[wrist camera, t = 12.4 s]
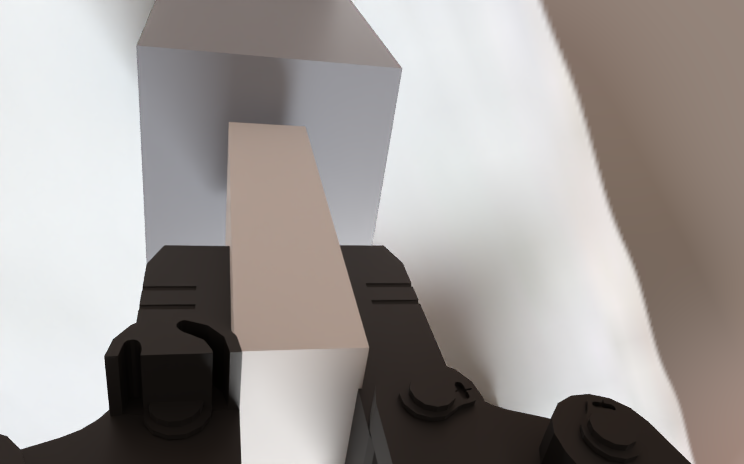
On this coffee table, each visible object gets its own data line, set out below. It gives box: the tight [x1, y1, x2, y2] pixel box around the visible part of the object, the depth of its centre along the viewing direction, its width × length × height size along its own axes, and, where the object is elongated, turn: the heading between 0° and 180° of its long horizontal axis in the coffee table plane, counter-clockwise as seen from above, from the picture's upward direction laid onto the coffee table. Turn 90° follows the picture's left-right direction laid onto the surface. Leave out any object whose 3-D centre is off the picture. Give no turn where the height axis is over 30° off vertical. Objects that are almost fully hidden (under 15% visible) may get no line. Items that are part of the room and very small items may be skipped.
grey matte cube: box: [137, 0, 402, 263], centre depth 16 cm, size 5×5×7 cm
